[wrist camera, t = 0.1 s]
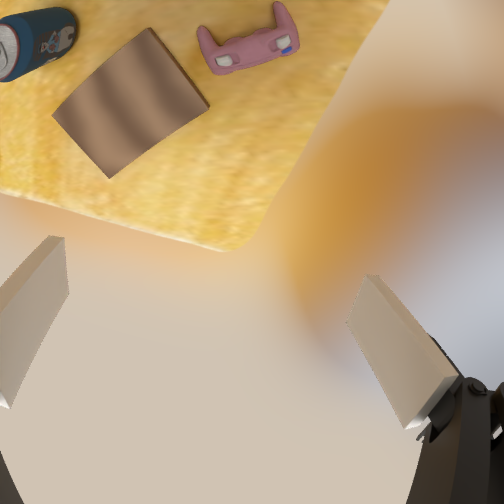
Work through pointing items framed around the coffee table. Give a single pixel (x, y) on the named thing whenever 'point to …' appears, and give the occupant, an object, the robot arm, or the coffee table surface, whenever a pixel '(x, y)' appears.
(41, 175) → the coffee table surface
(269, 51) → the video game controller
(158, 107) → the walnut board
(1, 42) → the soda can
